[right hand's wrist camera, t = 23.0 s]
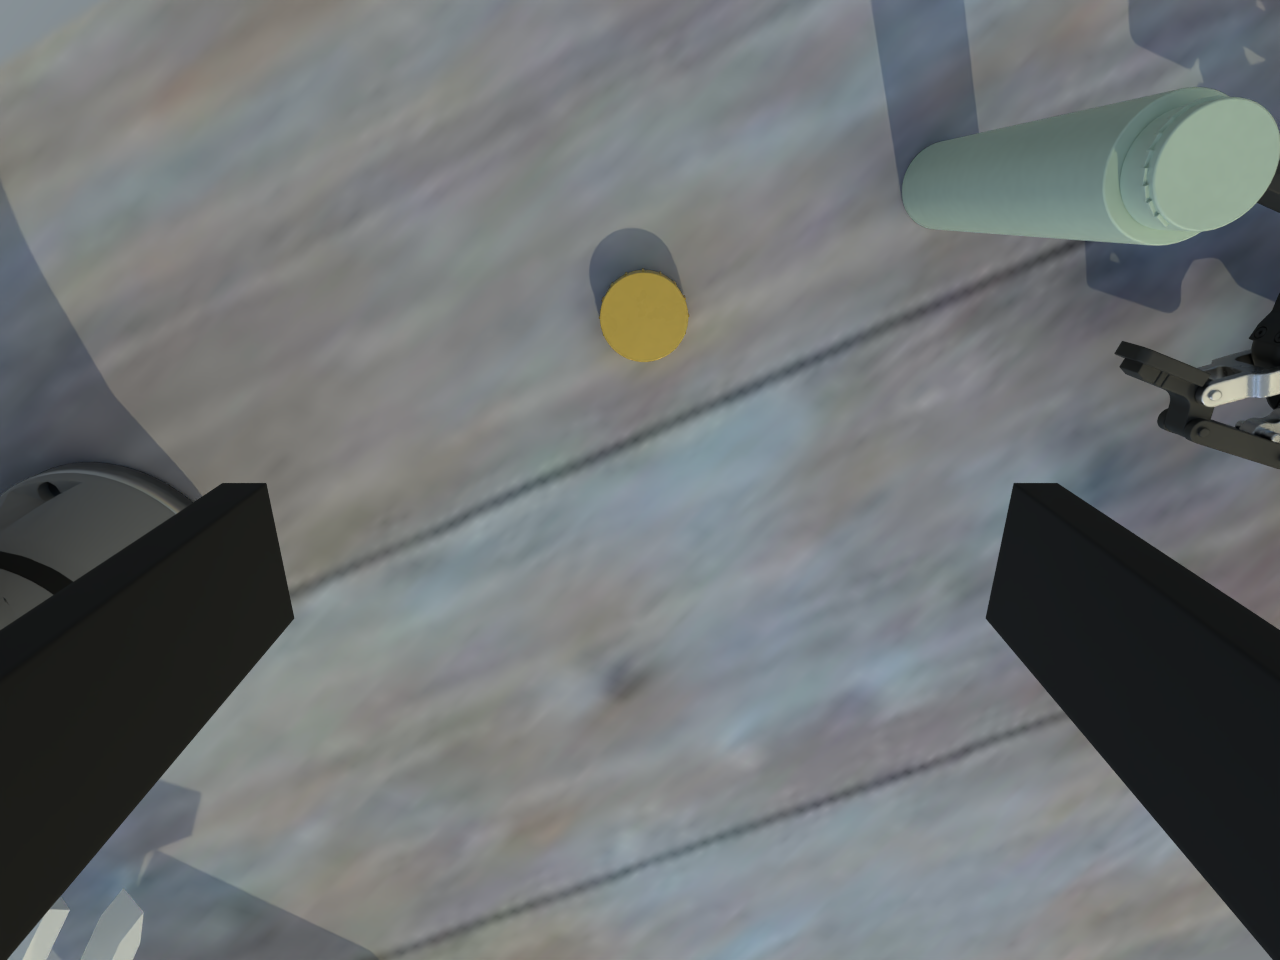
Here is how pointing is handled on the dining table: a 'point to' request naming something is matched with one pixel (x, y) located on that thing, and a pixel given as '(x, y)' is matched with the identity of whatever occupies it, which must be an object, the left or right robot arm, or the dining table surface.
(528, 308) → the dining table surface
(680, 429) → the dining table surface
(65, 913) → the white plastic object
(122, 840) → the dining table surface
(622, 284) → the lid
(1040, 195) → the pale green rounded cylinder
